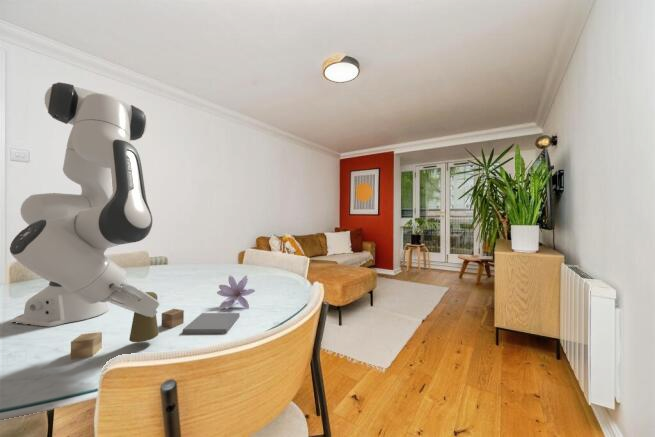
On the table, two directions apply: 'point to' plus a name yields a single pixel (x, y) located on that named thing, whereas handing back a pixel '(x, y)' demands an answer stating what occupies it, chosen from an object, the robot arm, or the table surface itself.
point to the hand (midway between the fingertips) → (147, 312)
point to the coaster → (212, 323)
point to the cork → (144, 326)
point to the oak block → (86, 345)
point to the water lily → (234, 293)
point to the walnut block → (172, 318)
